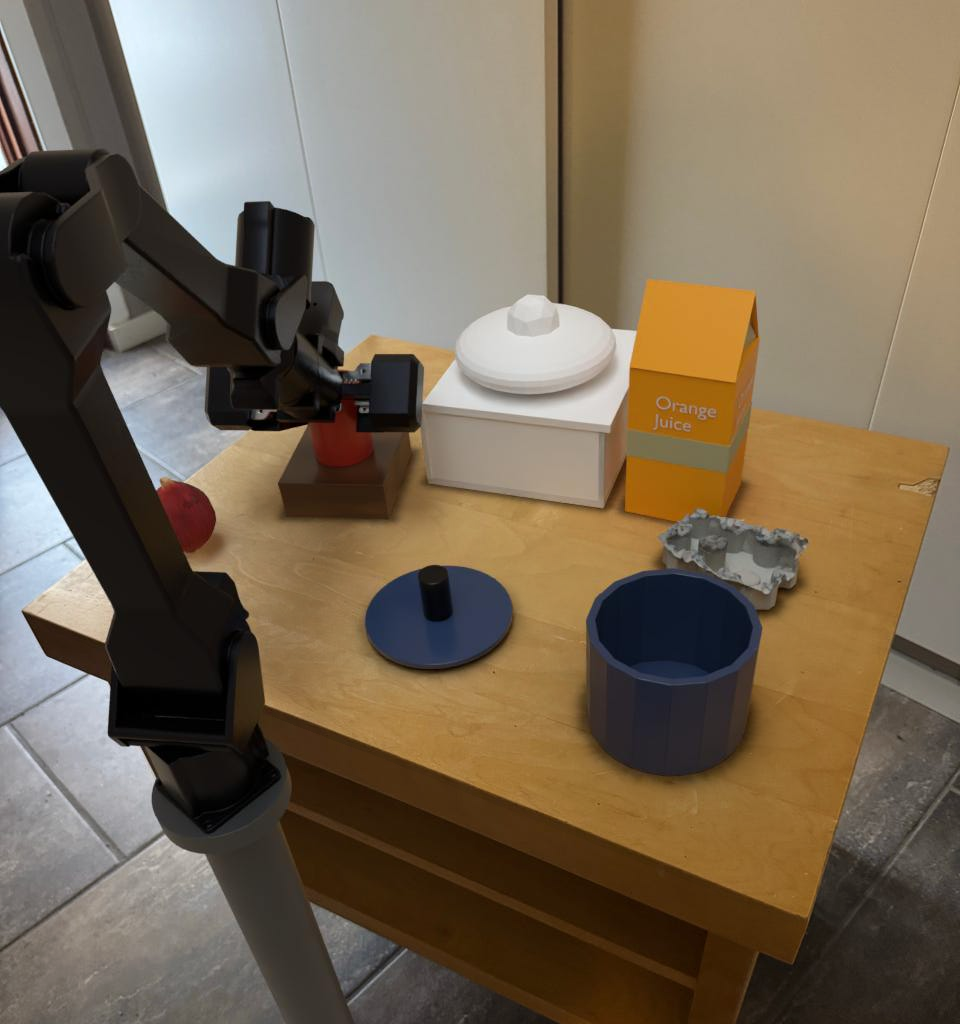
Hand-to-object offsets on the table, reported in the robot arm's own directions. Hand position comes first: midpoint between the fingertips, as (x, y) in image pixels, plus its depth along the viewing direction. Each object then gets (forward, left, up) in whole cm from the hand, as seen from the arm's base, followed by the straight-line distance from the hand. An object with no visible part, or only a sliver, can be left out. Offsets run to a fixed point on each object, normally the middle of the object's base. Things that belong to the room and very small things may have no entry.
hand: (343, 417), depth 91 cm
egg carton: (+9, -37, -7) cm, 38 cm away
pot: (-7, -42, -7) cm, 43 cm away
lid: (-10, -22, -6) cm, 25 cm away
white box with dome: (+15, -12, -7) cm, 20 cm away
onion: (-17, +3, -7) cm, 19 cm away
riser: (-1, -1, -7) cm, 7 cm away
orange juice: (+16, -28, -7) cm, 33 cm away
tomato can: (-1, -1, -3) cm, 3 cm away
